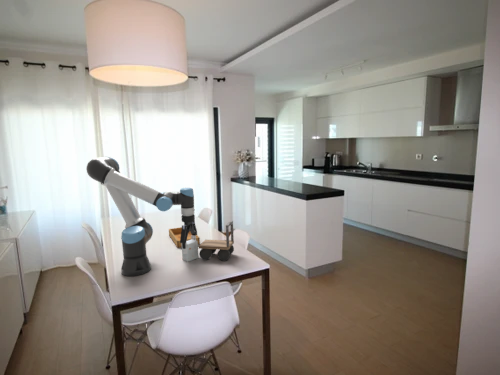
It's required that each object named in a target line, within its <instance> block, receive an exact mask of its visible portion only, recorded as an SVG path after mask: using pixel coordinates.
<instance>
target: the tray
mask: <svg viewBox="0 0 500 375" xmlns="http://www.w3.org/2000/svg"><path fill="white" fill-rule="evenodd" d="M181 231H182V226H181V227H174V228H168V236H169V238H170V239H171V240H172V243H174V245H175V247H176V248H177V249H179V248H181V249H182V244H181V243H180V238H181ZM191 235H192V234H191V232H189V233H188V237H187V241H188V240H191ZM200 239H201V238H200V236H199V235H198V234H197V235H196V241H198V245H200V244H201V243H200V242H201V240H200Z"/></svg>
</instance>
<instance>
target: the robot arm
mask: <svg viewBox="0 0 500 375" xmlns="http://www.w3.org/2000/svg"><path fill="white" fill-rule="evenodd" d="M86 173H87V175H88V176H89V178H90V179H93V180H94V181H97V182H98V183H100V185H102V186H105V187H106V189H107V191H108V192H109V195H110V197H111V199H112V200H113V202H114V204H115V206H116V208H117V210H118V211H119V213H120V215H121V217H122V218H123V221H124V223H125V226H124V229H123V230H122V232H121V237H120V238H121V243H122V245H121V246H122V252H123V253H122V254H123V260H122V264H121V268H120V271H121V272H120V273H121V275H123V276H126V277H137V276H141V275H145V274H147V273H149V272H150V271H151V270H152V265H151V262H150V260H149V258H148V255H147V246H146V245H147V243H148V242H149V241H150V240H151V239H152V237H153V233H154V230H153V226H152V225H151V224H150V223H149V222H147V220H146V219H145V217H144V216H141V215H140V213H139V211H138V210H137V207H136V206H135V204H134V202H133V200H132V198H131V196H132V197H135V198H137V199H140V200H142V201H144V202H146V203H148V204H150V205H153V206H154V207H156V209H158V210H159V211H160V212H167V211H168V210H169V211H170V210H171V208H173V206H180V214H181V217H180V218H181V222H182V223H183V225H181V227H182V231H181V238H180V243H182V247H181V255H182V254H187V243H186V241H187V237H188V233H189V232H191V234H192V235H191V239H192V240H196V235H198V229H197V225H196V221H195V218H196V217H195V194H194V189H193V188H191V187H182V188H180V190H179V191H169V192H167V191H163V192H160V191H158V190H156V189H154V188H151V187H149V186H147V185H146V184H143V183H141V182H140V181H136V180H135V179H133V178H132V177H128V176H126V175H124V174H123V173H121V172H120V165H119V162H118V161H117V160H116V159H114V157H111V156H110V157H109V156H103V157H96V158H92V159H91V160H89V161H88V163H87V164H86Z"/></svg>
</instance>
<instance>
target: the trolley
mask: <svg viewBox="0 0 500 375" xmlns="http://www.w3.org/2000/svg"><path fill="white" fill-rule="evenodd" d="M229 230H230V233H229ZM229 235H230V236H229ZM225 238H226V239H204V241H202V243H200V244H198V250H199V249H200V250H199V251H198V256H199V257H200V258H201V259H202V260H203V261H207V260H210V259H211V257H212V255H213V254H215V252H217V255H216V256H217V257H218V258H217V259H219V260H220V261H223V262H225V261H228V259H229V258H230V256H231V255H232V254H233V252H234V251H235V247H234V244H235V240H234V220H230V221H229V222H228V223H227V224H226V225H225ZM217 250H218V251H217Z"/></svg>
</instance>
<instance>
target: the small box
mask: <svg viewBox="0 0 500 375" xmlns="http://www.w3.org/2000/svg"><path fill="white" fill-rule="evenodd" d="M186 243H187V254H182V253H181V257H182V260H183V261H185V262H188V263H189V262H191V261H194V260H196V259H199V257H200V255H199V244H198V241H196V240H192V239H191V240H188V241H186ZM181 244H182V243H181Z"/></svg>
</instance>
